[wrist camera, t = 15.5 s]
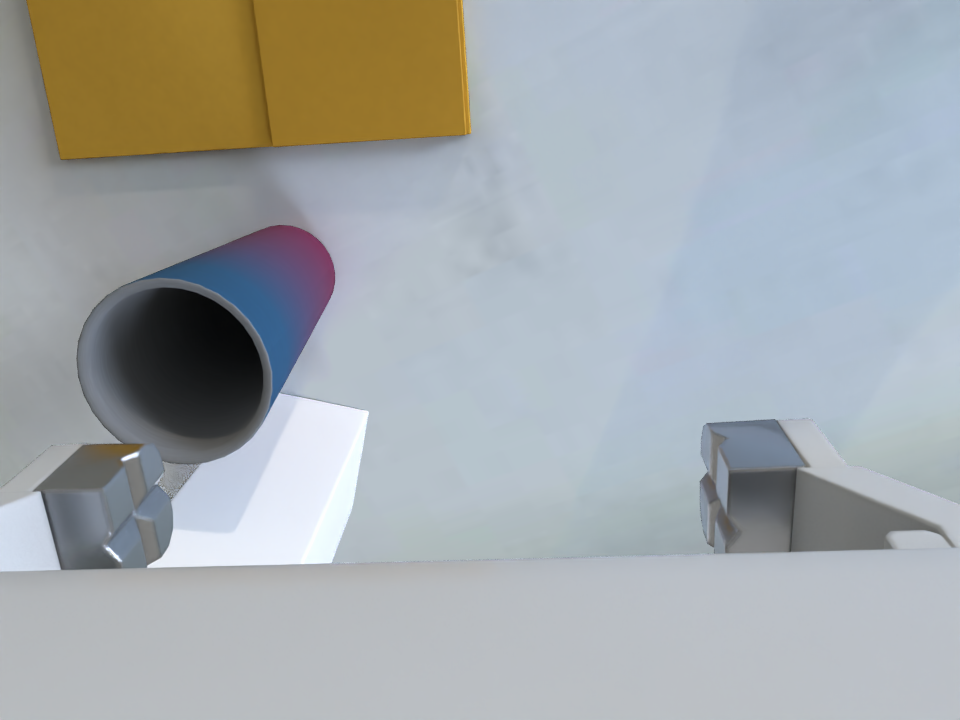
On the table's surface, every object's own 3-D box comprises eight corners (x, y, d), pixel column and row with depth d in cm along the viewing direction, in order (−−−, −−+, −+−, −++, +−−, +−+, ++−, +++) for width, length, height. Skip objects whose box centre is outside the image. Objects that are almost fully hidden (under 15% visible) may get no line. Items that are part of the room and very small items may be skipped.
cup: (244, 350, 45) (118, 481, 31) (200, 224, 43) (45, 302, 29) (369, 323, 45) (298, 444, 30) (330, 192, 43) (235, 257, 28)
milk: (369, 409, 46) (252, 694, 25) (352, 508, 48) (230, 848, 27) (256, 387, 46) (44, 654, 25) (244, 487, 48) (37, 813, 27)
